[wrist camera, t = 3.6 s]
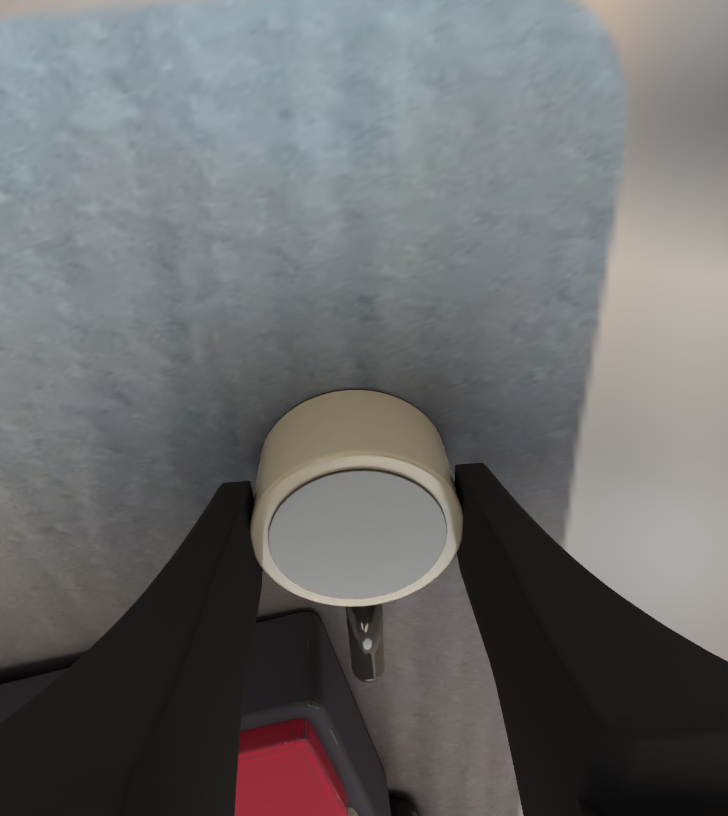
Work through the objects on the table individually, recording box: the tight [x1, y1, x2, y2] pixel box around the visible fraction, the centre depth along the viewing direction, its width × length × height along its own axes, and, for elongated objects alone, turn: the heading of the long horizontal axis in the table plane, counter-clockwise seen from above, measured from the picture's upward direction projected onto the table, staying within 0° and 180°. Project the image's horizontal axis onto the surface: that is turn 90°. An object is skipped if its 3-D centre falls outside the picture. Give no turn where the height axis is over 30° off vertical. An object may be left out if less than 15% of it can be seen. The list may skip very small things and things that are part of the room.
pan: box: [250, 390, 463, 683], centre depth 14 cm, size 8×5×2 cm, turn 3°
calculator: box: [0, 612, 391, 816], centre depth 19 cm, size 11×4×15 cm
